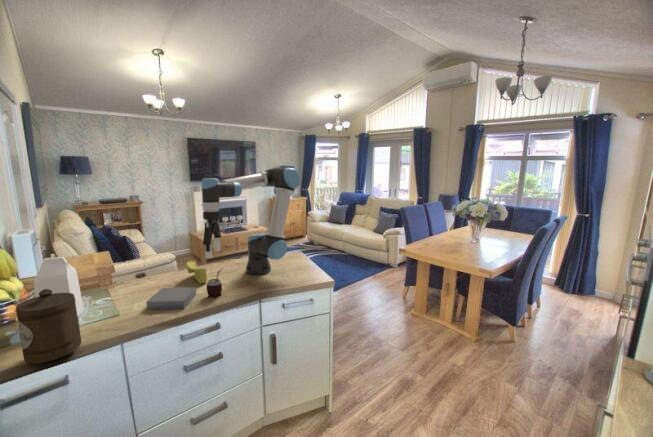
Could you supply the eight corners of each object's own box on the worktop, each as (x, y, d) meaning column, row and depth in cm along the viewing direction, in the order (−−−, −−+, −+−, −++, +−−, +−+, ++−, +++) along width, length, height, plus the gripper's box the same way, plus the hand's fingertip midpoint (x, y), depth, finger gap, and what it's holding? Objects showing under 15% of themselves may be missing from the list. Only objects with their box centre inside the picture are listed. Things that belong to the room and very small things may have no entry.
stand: (196, 294, 152) (195, 287, 151) (184, 309, 136) (183, 300, 136) (163, 295, 151) (162, 287, 150) (147, 310, 135) (146, 301, 134)
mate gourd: (207, 294, 153) (205, 265, 150) (223, 292, 156) (222, 263, 153) (207, 300, 146) (205, 270, 144) (224, 297, 149) (223, 268, 146)
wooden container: (28, 347, 106) (19, 287, 102) (82, 334, 115) (75, 279, 111) (19, 370, 94) (8, 303, 91) (80, 353, 103) (72, 292, 99)
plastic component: (206, 283, 167) (205, 266, 165) (192, 287, 162) (191, 269, 160) (196, 274, 182) (195, 258, 180) (183, 276, 177) (182, 260, 176)
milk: (37, 326, 120) (27, 263, 116) (49, 314, 130) (41, 255, 126) (74, 321, 125) (67, 260, 121) (83, 309, 135) (77, 252, 131)
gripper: (211, 207, 156) (212, 247, 159) (194, 214, 131) (196, 261, 135) (225, 207, 157) (227, 247, 160) (211, 214, 132) (213, 261, 135)
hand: (213, 254), depth 147 cm, fingers open, 13 cm apart
